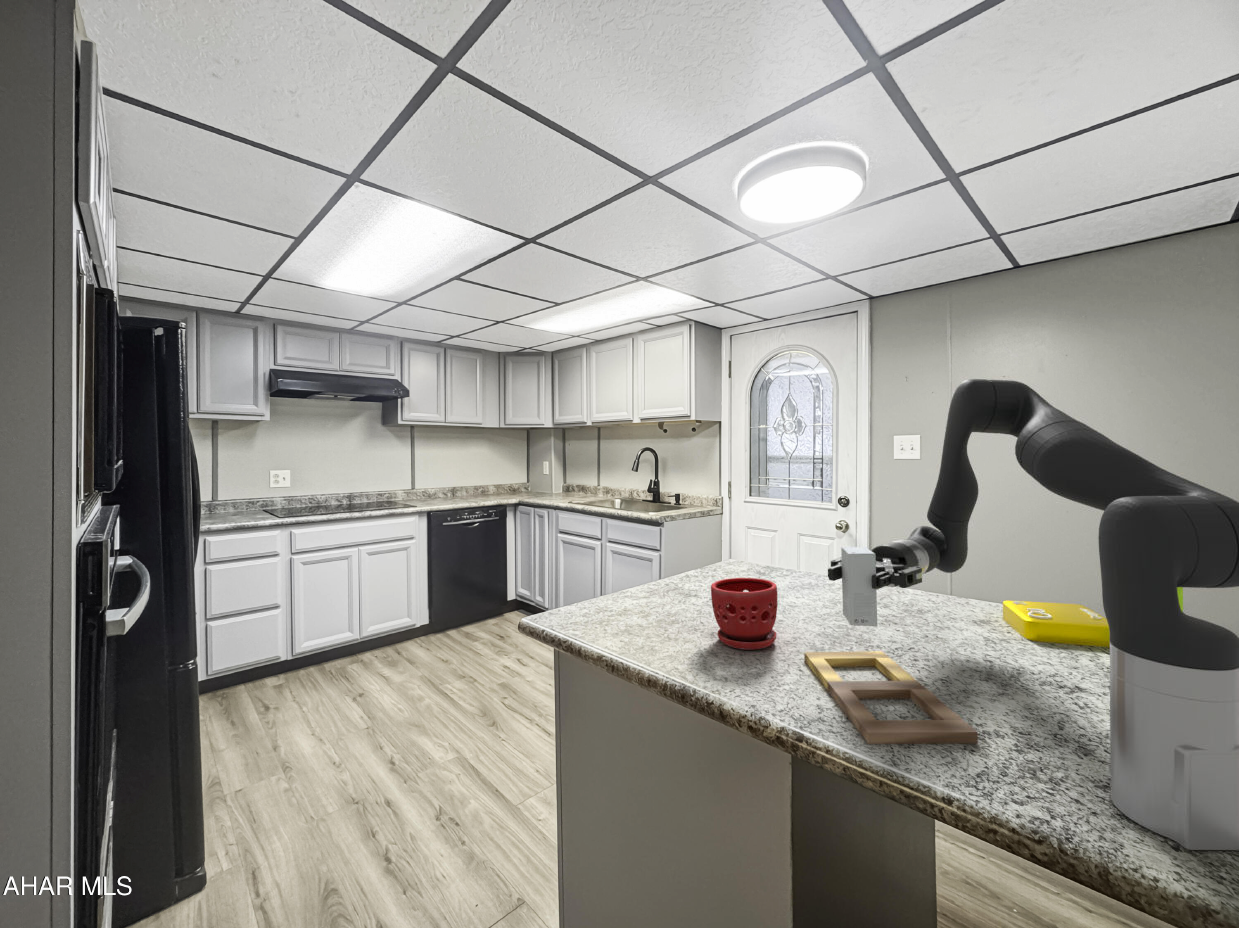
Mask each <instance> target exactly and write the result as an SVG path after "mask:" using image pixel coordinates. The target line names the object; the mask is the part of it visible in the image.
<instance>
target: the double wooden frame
mask: <svg viewBox="0 0 1239 928" xmlns="http://www.w3.org/2000/svg"><path fill="white" fill-rule="evenodd" d="M803 653H804V654H803V656H804V657H803V659H804V660H803V661H804V662H805V663H806V664H807V666H808V667H809V668H810V669H811V671H812V673H814V675H815V676H816V678H817V679H818V680H819V681H820V683H821V684H822V685H823V686H824V688H825V689H826V690H827V692H828V693H829V694H830V696H831V697H832V698H833V700H834V701H835V703H837V705H838V706H839V708H840V709H841V710H842V711H843V713H844V714H845V716H846V717H847V719H848V720H849V721H851V723H852V725H853V726H854V727H855V728H856V730H857V731H858V732H859V734H860V735H861V736H862V737H863V739H864V740H865V742H866V743H867V744H868V745H870V744H871V745H872V744H874V745H876V744H878V745H879V744H880V745H881V744H882V745H886V744H888V745H889V744H892V745H893V744H894V745H895V744H903V745H904V744H911V745H912V744H913V745H914V744H921V745H923V744H926V745H927V744H929V745H930V744H979V742H978V741H979V740H978V736H979V734H978V731H977V729H975V728H973V727H972V726H971V725H970V724H969V723H967V722H966V721H965V720H964V719H962V717H960V716H959V715H958V714H957V713H956V712H955V711H953V710H952V709H951V708H950V707H949V706H947V705H946V704H945V703H944V702H943V701H942V700H940V699H939V698H938V697H937V696H936V695H935V694H933V693H932V692H931V691H930V690H929V689H928V688H926V687H925V686H923V685H922V684H921V682H920V681H918V680H917V679H916V678H914V677H913V676H912V675H911V674H909V672H908V671H907V670H905V669H904V668H903V667H901V666H900V665H899V664H898V663H897V662H896V661H894V660H893V659H892V658H890V656H888V655H887V654H886V653H885V652H883V651H881V650H877V651H876V650H875V651H871V650H870V651H868V650H867V651H804V652H803ZM838 667H839V668H840V667H841V668H842V667H845V668H847V667H875V668H877V669H878V670H879V672H881V673H882V674H883V675H884V676H885V677H886V678H888V679H889V680H847V681H846V680H843V679H842V678H841V677H840V675H839V674H838V673H837V672H836V671H835V670H834V669H833V668H838ZM861 700H911V701H912V702H913V703H914V704H915V705H916V706H917V707H919V708H920V709H921V710H922V711H923V712H924V713H925V714H926V715H927V716H928V717H929V718H930V719H923V720H922V719H916V720H915V719H914V720H913V719H912V720H909V719H908V720H905V719H904V720H903V719H900V720H898V719H897V720H894V719H893V720H891V719H886V720H880V719H879V720H878V719H876V717H875V716H874V715H873V714H872V713H871V712H870V710H869V709H868V708H867V707H866V706H865V705H864V703H863V702H862V701H861Z"/></svg>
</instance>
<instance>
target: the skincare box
mask: <svg viewBox="0 0 1239 928" xmlns="http://www.w3.org/2000/svg"><path fill="white" fill-rule="evenodd" d="M840 550H841V557H842V578H841V583H842V584H841V587H842V591H841V592H842V595H841V596H842V615H843V616H844V618H845V620H846V621H847V622H848V623H849V625H850V626H853V627H858V626H859V627H878V606H877V605H878V602H877V601H878V600H877V597H878V596H877V595H878V594H877V593H878V592H877V589H873V588H872V575H874V574H876V556H875V553H873V552H872V551H871V550H870V549H869V548H868V547H866V546H841V548H840Z"/></svg>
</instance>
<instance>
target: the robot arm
mask: <svg viewBox="0 0 1239 928" xmlns="http://www.w3.org/2000/svg"><path fill="white" fill-rule="evenodd" d="M946 420H947V421H946V426H945V433H944V439H943V447H942V453H941V461H940V466H939V467H940V468H939V473H938V478H937V481H936V484H935V489H934V491H933V494H932V498H931V500H930V504H929V506H928V509H927V513H926V518H927V521H928V523H930V525H932V526H933V527H934V528H933V527H931V526H926V525H920V526H917V527H916V528H914V529H913V531H912V532H911V534H910V535H909V537H907V538H906V539H898V540H894V541H890V542H887V543H883V544H881V545H877V546H876V547H874V548H872V549H871V550H870V551H872V552H873V553H875V556H876V574H874V575H872V588H873V589H876V590H879V589H882V588H884V587H889V588H890V587H891V588H895V587H899V588H902V589H906V588H910V587H913V586H916V585H918V584H921V583H923V575H924V574H926V573H929V572H931V571H933V570H934V569H936V570H938V571H940V572H943V573H945V574H949V573H950V574H952V573H956V572H957V571H959V570H960V569H962V568H963V567H964V565H965V563H966V561H967V557H968V551H969V547H968V535H969V534H968V531H969V522H970V519H971V516H972V514H973V511H974V509H975V506H976V503H977V501H978V498H979V483H978V480H977V476H976V474H975V472H974V470H973V467H972V463H971V462H970V457H969V455H968V445H969V440H970V436H971V434H972V433H980V434H981V433H986V434H1000V435H1007V436H1008V435H1010V436H1012V437H1015V438H1017V439H1016V442H1015V446H1014V447H1015V448H1014V451H1015V452H1014V455H1015V458H1016V461H1017V463H1018V464H1019V466H1020V467H1021V468H1022V470H1024V471H1025V473H1026V474H1028V475H1029V476H1031V478H1033V479H1034V480H1035V481H1036V482H1037V483H1039V484H1040V485H1041V486H1042V487H1044V488H1045V489H1047V490H1048V491H1049V492H1051V493H1054V494H1055V495H1057V496H1059V497H1060V498H1061V497H1062V498H1064V499H1067V500H1070V501H1072V502H1074V503H1078V504H1082V505H1085V506H1087V507H1091V508H1094V509H1097V510H1100V511H1103V514H1102V515H1101V518H1100V521H1099V527H1098V537H1097V539H1098V555H1099V565H1100V576H1101V577H1100V578H1101V592H1102V593H1101V594H1102V595H1101V597H1102V607H1103V611H1104V616H1105V618H1106V619H1107V622H1108V625H1109V631H1110V647H1109V743H1110V744H1109V748H1110V749H1109V750H1110V751H1109V753H1110V755H1109V761H1110V763H1109V764H1110V767H1109V769H1110V798H1111V802H1112V803H1113V805H1114V806H1115V807H1116V808H1117V809H1118V810H1119V811H1120V812H1121V813H1122V814H1124V815H1125V817H1128V818H1129V819H1130V820H1131V821H1133V822H1135V823H1137V824H1139V825H1140V826H1142V827H1144V828H1145V829H1148V830H1149V831H1151V832H1154V833H1156V834H1158V835H1161V836H1163V837H1165V838H1167V839H1170V840H1171V841H1172V840H1173V841H1174V842H1176V843H1178V844H1179V845H1180V846H1181V847H1183V848H1184V849H1186V850H1189V851H1190V850H1191V851H1239V637H1238V635H1237V634H1236V633H1234V632H1233V631H1232V630H1229V629H1228V628H1226V627H1223V626H1222V625H1219V624H1215V623H1213V622H1210V621H1208V620H1204V619H1201V618H1197V617H1195V616H1191V615H1188V614H1186V613H1184V611H1183V612H1182V611H1181V608H1180V605H1179V599H1178V593H1177V587H1183V588H1190V589H1191V588H1192V589H1193V588H1194V589H1195V588H1198V589H1200V588H1201V589H1204V588H1205V589H1226V588H1236V587H1237V588H1238V587H1239V501H1238V500H1236V499H1233V498H1232V497H1229V496H1227V495H1225V494H1222V493H1219V491H1215V490H1213V489H1210V488H1208V487H1206V486H1203V485H1201V484H1198V483H1195V482H1193V481H1190V480H1189V479H1186V478H1184V477H1182V476H1179V475H1177V474H1175V473H1173V472H1170V471H1168V470H1167V469H1164V468H1162V467H1159V466H1158V465H1157V464H1155V463H1153V462H1151V461H1149V460H1147V459H1146V458H1144V457H1143V456H1140V455H1138V454H1137V453H1135V452H1133V451H1131V450H1130V449H1128V448H1125V447H1124V446H1122V445H1120V444H1119V443H1117V442H1115V441H1113V440H1111V439H1110V438H1108V437H1107V436H1106V435H1104V434H1102V432H1099V431H1097V430H1095V429H1094V428H1093V427H1091V426H1089V425H1087V424H1086V423H1084V422H1081V421H1079V420H1077V419H1075V418H1073V417H1071V416H1070V415H1069V414H1067V413H1065V412H1063V411H1062V410H1060V409H1058V408H1056V407H1054V406H1053V405H1052V404H1051V403H1049V402H1048V401H1047V400H1046V399H1045V398H1044V397H1042V396H1041V395H1040V394H1039V393H1038V392H1037V391H1036V390H1035V389H1033V388H1031V387H1030V386H1029V385H1027V384H1025V383H1023V382H1021V381H1017V380H1009V379H1008V380H1007V379H1006V380H1003V379H987V378H986V379H982V378H970V379H965V380H963V381H962V382H960V383H959V384H958V386H957V387H956V389H955V390H954V393H953V395H952V398H951V400H950V405H949V409H948V414H947V419H946ZM827 578H828V580H829V581H832V582H835V581H837V580H840V579H841V580H842V556H839V557H837V558H834V559H831V560H830V566H829V567H828V568H827Z"/></svg>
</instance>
